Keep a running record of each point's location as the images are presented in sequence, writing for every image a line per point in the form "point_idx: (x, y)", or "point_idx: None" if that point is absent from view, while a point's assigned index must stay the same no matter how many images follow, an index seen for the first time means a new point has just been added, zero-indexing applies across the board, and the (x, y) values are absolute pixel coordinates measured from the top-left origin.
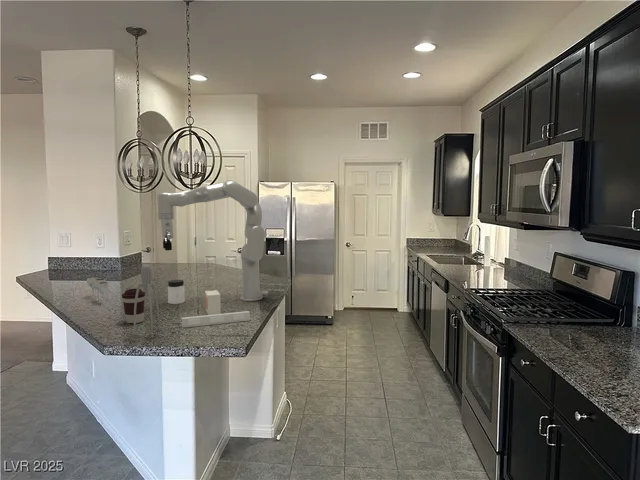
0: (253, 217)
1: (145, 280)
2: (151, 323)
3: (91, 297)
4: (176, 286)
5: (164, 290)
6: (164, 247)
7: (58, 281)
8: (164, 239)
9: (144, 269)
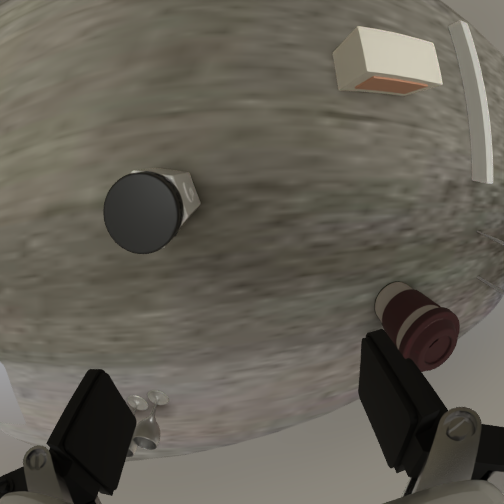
0: None
1: None
2: None
3: None
4: (183, 204)
5: (6, 261)
6: (129, 422)
7: (2, 430)
8: (85, 501)
9: None
